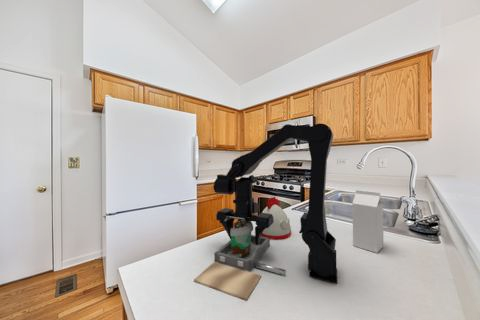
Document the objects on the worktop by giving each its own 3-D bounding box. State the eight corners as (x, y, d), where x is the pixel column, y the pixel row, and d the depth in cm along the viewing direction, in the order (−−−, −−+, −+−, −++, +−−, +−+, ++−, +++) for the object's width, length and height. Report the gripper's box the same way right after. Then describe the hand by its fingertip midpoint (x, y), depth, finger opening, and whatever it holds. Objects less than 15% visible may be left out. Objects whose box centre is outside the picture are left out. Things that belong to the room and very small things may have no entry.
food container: (251, 264, 55) (250, 230, 55) (230, 262, 56) (230, 229, 56) (255, 244, 67) (255, 217, 67) (239, 243, 68) (238, 216, 68)
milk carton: (377, 253, 59) (376, 194, 59) (352, 245, 65) (352, 191, 65) (383, 246, 64) (383, 191, 64) (360, 239, 69) (359, 189, 69)
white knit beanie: (250, 232, 78) (249, 197, 78) (270, 224, 87) (270, 192, 87) (277, 243, 68) (276, 202, 68) (297, 232, 77) (296, 196, 77)
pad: (261, 277, 49) (261, 275, 49) (246, 300, 41) (246, 298, 41) (214, 263, 56) (214, 262, 56) (193, 281, 48) (193, 279, 48)
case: (269, 245, 66) (269, 238, 66) (250, 272, 51) (249, 263, 51) (240, 239, 72) (239, 232, 72) (213, 261, 56) (213, 253, 56)
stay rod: (286, 273, 50) (285, 268, 50) (284, 276, 49) (284, 271, 49) (251, 264, 55) (251, 259, 54) (250, 267, 53) (249, 262, 53)
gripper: (277, 193, 64) (278, 238, 64) (231, 190, 73) (231, 229, 73) (267, 200, 54) (268, 253, 54) (214, 195, 63) (215, 241, 63)
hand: (244, 242), depth 61 cm, fingers open, 9 cm apart
